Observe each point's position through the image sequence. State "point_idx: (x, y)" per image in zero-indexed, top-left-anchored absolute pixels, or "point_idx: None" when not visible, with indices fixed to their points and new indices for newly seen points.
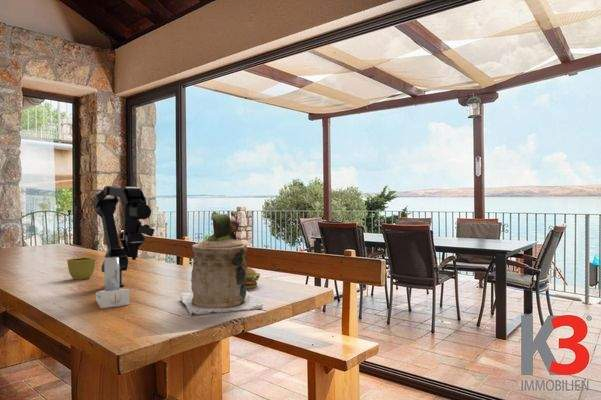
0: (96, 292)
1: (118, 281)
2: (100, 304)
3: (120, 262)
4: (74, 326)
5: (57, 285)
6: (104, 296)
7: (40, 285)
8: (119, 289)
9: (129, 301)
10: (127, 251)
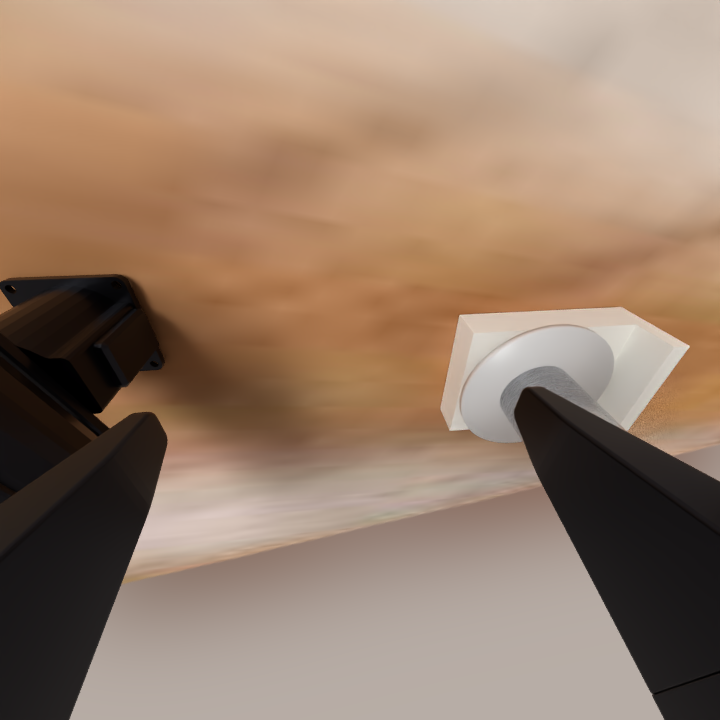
0: (493, 440)
1: (605, 410)
2: None
3: (35, 427)
4: (690, 447)
5: None
6: None
7: None
8: (558, 371)
9: (632, 313)
10: (120, 543)
